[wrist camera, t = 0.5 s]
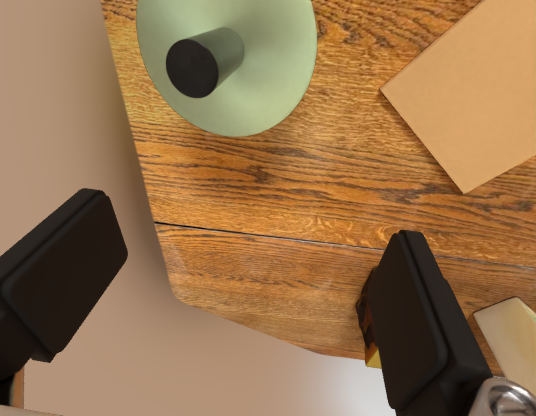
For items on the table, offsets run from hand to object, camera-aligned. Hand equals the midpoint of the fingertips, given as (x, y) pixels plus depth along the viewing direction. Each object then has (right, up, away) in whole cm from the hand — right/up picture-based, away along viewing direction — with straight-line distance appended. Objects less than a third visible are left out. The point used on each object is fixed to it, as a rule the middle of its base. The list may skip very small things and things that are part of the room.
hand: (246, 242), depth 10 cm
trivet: (+23, +12, +16) cm, 30 cm away
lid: (-2, +12, +10) cm, 15 cm away
